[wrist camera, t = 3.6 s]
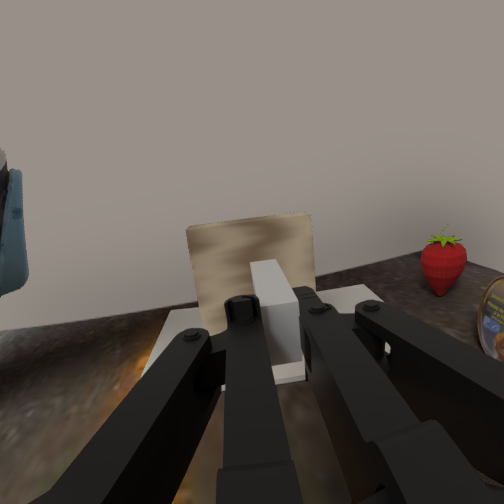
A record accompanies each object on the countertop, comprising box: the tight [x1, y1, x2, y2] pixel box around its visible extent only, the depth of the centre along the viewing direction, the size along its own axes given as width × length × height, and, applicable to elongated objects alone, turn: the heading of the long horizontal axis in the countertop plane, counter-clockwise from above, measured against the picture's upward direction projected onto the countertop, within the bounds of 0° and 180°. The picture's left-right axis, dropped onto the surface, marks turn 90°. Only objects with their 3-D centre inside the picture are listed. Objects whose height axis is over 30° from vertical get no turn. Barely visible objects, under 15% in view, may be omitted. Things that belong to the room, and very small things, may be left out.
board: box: [186, 212, 316, 356], centre depth 26 cm, size 10×2×13 cm, turn 93°
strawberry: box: [420, 227, 467, 296], centre depth 33 cm, size 6×8×10 cm
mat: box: [141, 284, 390, 391], centre depth 32 cm, size 28×18×1 cm, turn 93°
